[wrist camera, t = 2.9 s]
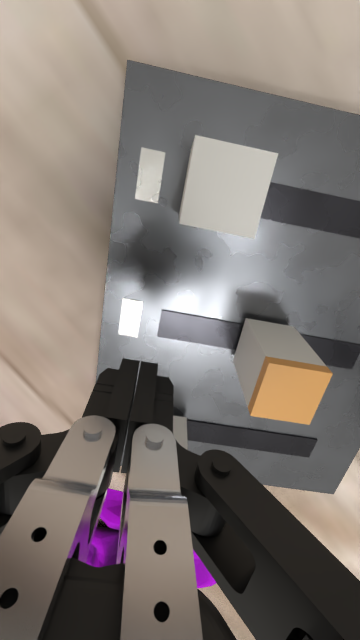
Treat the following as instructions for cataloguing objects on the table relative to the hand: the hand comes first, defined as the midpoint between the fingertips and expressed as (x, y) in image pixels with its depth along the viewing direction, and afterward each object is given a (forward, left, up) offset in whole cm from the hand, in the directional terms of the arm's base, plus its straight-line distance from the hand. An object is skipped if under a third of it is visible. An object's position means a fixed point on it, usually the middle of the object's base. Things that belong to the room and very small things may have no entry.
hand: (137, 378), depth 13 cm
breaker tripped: (-7, 0, -6) cm, 9 cm away
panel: (-7, 0, -9) cm, 11 cm away
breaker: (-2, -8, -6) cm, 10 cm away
